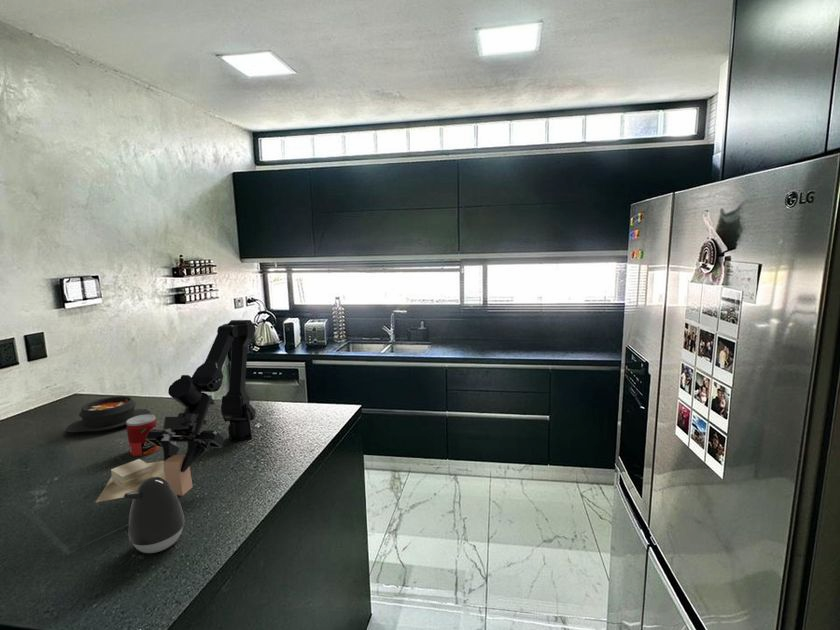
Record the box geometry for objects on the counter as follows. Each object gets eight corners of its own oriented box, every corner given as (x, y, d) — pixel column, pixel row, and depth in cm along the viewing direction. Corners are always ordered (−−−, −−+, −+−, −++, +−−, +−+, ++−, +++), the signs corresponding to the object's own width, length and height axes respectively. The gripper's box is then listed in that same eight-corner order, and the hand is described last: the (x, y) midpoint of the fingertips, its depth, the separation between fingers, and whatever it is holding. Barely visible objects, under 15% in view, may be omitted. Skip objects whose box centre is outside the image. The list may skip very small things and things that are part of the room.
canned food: (146, 459, 132) (141, 424, 130) (124, 457, 133) (119, 423, 132) (165, 447, 139) (161, 414, 137) (144, 445, 141) (140, 413, 139)
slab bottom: (140, 470, 124) (140, 464, 123) (152, 477, 120) (151, 471, 120) (112, 481, 118) (111, 475, 118) (124, 489, 114) (123, 483, 114)
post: (178, 488, 115) (173, 454, 114) (192, 488, 115) (187, 454, 113) (168, 496, 111) (163, 462, 110) (183, 497, 111) (177, 462, 109)
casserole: (151, 409, 173) (148, 389, 171) (151, 425, 157) (148, 403, 156) (71, 424, 160) (67, 402, 158) (62, 443, 144) (58, 419, 143)
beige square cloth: (187, 458, 131) (186, 456, 131) (177, 489, 115) (176, 487, 115) (117, 470, 125) (116, 468, 125) (95, 504, 109) (95, 502, 109)
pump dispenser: (120, 550, 92) (110, 484, 89) (170, 523, 100) (162, 462, 98) (146, 568, 86) (136, 498, 84) (196, 538, 95) (188, 473, 93)
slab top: (140, 464, 123) (139, 458, 123) (151, 471, 120) (151, 465, 119) (111, 475, 118) (110, 469, 118) (123, 483, 114) (122, 476, 114)
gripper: (145, 401, 114) (119, 461, 105) (214, 401, 113) (193, 462, 104) (168, 417, 123) (146, 474, 114) (232, 418, 122) (214, 475, 113)
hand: (173, 471), depth 111 cm, fingers closed on post, 4 cm apart
